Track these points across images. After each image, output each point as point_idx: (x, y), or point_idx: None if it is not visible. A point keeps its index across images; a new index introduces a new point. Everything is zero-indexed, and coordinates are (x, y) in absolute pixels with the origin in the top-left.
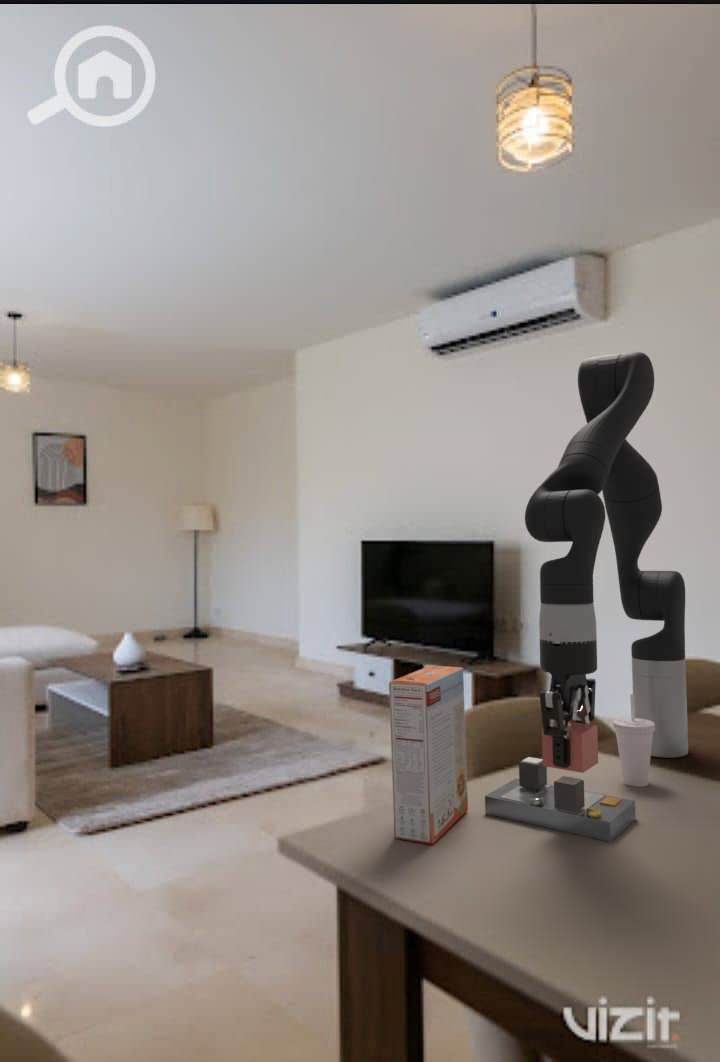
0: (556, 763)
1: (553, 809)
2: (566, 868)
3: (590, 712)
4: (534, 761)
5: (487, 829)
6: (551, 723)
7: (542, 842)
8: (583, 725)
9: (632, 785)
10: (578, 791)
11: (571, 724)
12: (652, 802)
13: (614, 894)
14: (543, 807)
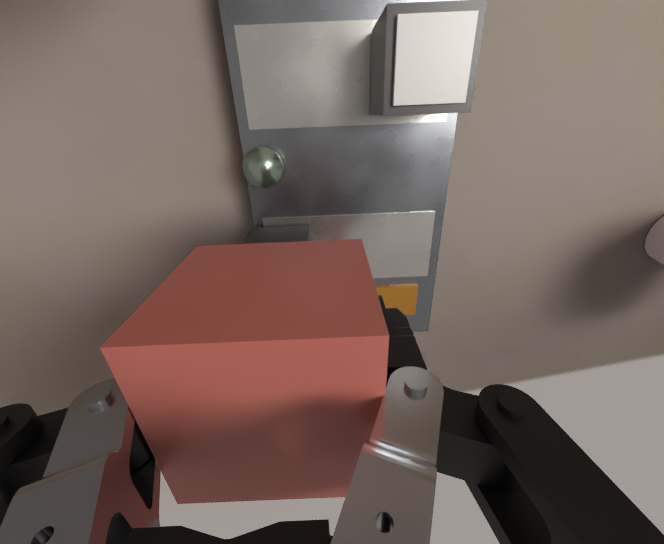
0: None
1: (259, 219)
2: (120, 302)
3: (482, 510)
4: (414, 81)
5: (137, 67)
6: (55, 458)
7: (181, 222)
8: (337, 464)
9: (647, 236)
10: None
11: (157, 512)
12: (533, 302)
13: (108, 375)
14: (254, 193)
